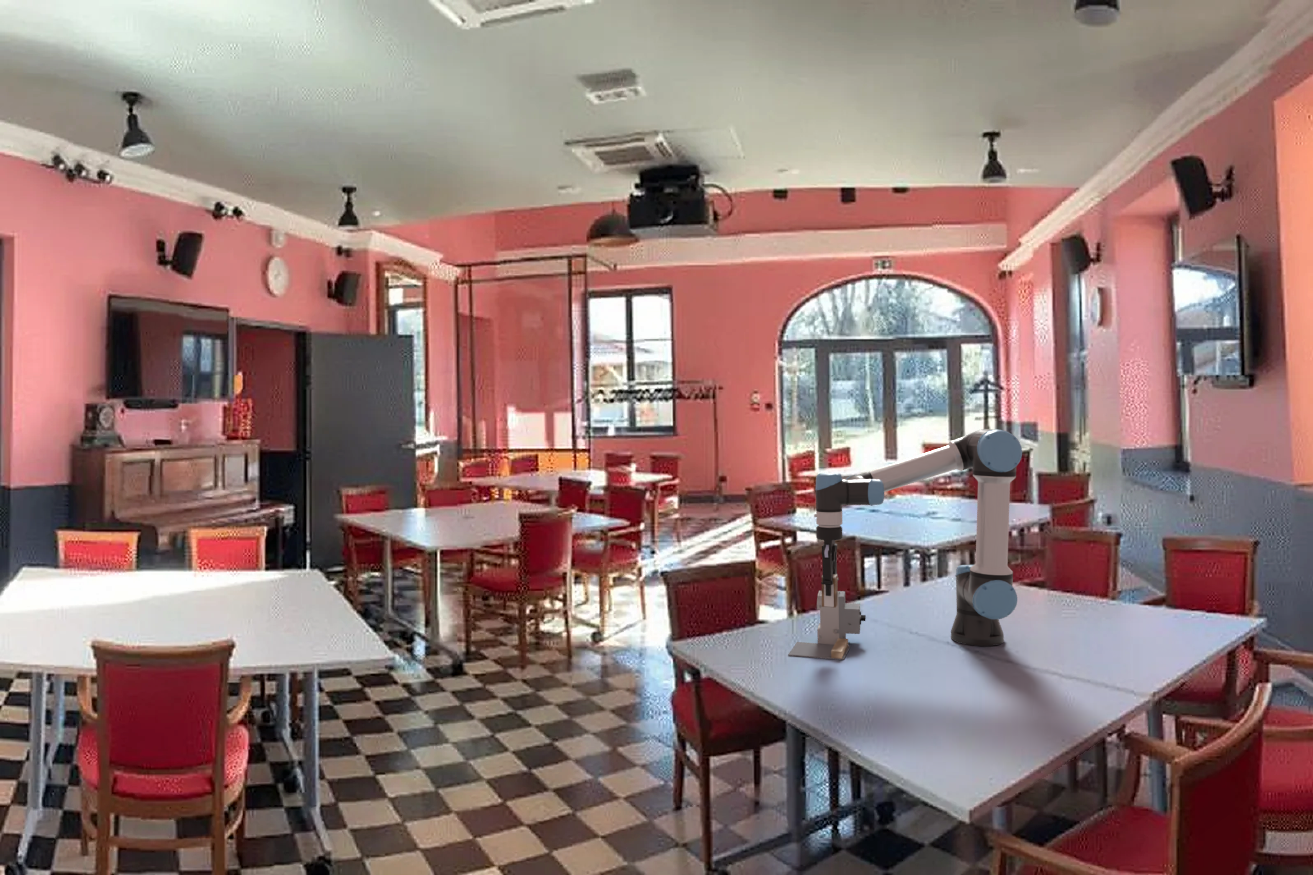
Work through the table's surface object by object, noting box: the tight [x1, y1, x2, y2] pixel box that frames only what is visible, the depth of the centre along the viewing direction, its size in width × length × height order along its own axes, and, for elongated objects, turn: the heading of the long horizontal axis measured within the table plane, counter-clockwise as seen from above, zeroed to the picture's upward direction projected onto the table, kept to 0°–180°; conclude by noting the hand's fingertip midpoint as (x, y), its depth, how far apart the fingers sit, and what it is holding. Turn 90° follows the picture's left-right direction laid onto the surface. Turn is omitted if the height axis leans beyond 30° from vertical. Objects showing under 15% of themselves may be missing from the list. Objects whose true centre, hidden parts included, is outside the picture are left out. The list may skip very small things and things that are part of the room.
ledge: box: [831, 638, 849, 659], centre depth 248 cm, size 3×14×2 cm, turn 160°
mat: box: [787, 641, 851, 661], centre depth 250 cm, size 16×14×1 cm
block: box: [821, 573, 838, 608], centre depth 248 cm, size 4×4×9 cm
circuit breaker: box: [816, 590, 867, 645], centre depth 259 cm, size 8×14×15 cm, turn 75°
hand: (830, 604), depth 248 cm, fingers closed on block, 4 cm apart
